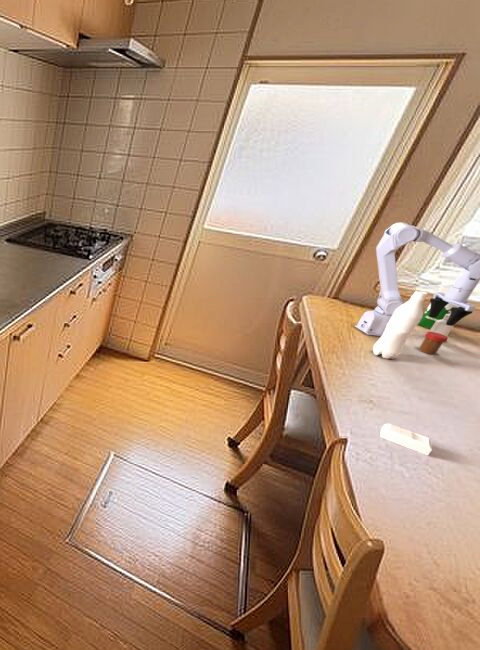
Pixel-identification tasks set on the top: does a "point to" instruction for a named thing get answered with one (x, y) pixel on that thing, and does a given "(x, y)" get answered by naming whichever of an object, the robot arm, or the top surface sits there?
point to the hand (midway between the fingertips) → (440, 321)
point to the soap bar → (406, 438)
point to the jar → (430, 346)
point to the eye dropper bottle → (442, 326)
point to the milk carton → (430, 321)
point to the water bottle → (400, 326)
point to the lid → (436, 336)
